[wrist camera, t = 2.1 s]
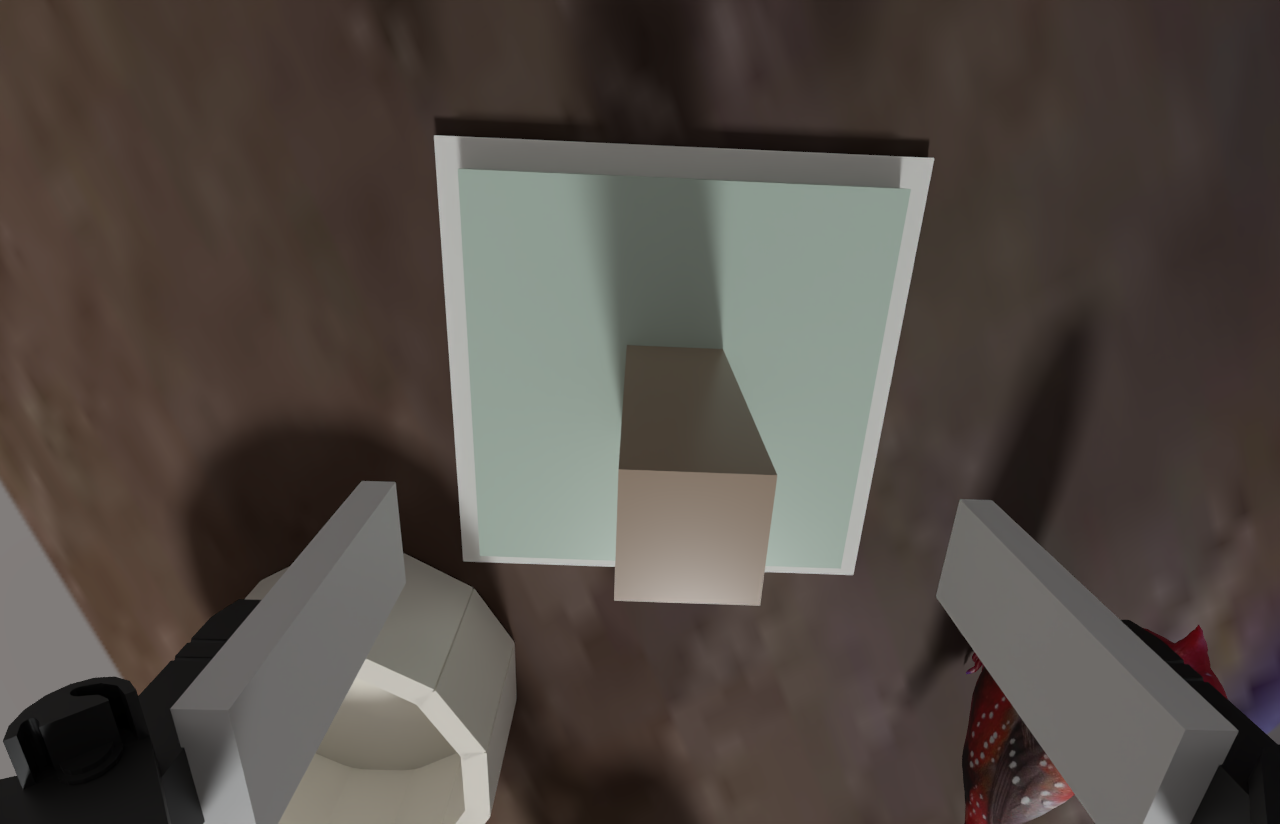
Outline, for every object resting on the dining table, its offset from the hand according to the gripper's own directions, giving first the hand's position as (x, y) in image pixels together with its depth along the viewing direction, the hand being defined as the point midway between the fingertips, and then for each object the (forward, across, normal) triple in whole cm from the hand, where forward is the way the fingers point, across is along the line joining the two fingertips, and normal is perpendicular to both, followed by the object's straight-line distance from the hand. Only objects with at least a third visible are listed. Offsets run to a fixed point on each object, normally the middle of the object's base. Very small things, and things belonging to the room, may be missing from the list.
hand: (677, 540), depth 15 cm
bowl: (+12, -12, -15) cm, 22 cm away
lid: (+11, 0, 0) cm, 11 cm away
